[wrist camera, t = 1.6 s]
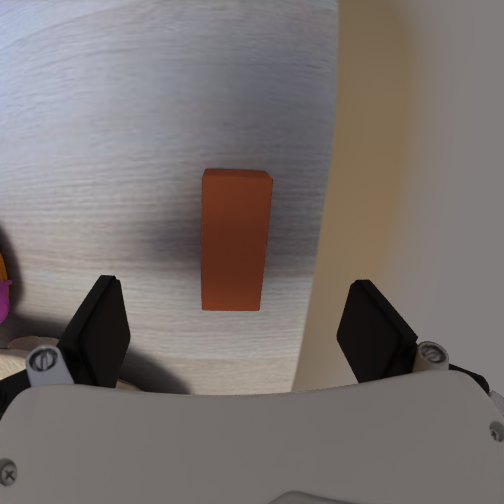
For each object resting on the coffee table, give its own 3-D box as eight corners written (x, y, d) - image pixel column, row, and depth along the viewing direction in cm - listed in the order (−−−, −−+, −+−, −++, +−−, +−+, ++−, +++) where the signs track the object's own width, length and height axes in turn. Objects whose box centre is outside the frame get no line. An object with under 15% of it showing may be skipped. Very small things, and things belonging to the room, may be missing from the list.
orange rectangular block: (205, 168, 16) (202, 175, 13) (265, 171, 16) (273, 178, 14) (203, 288, 19) (201, 310, 17) (254, 289, 19) (259, 311, 17)
